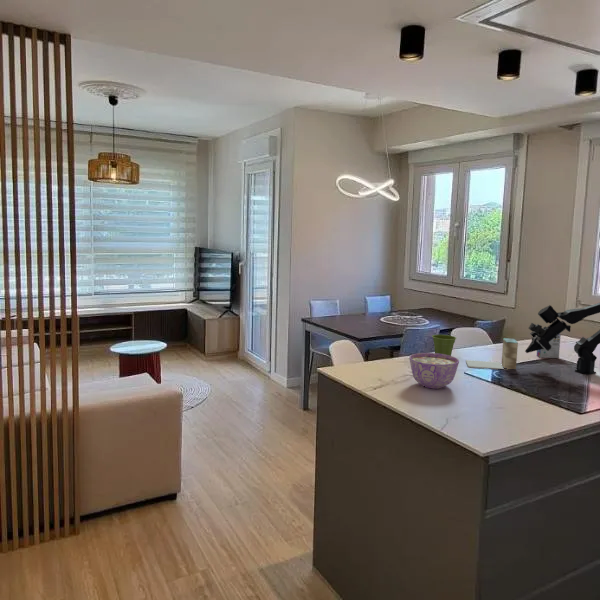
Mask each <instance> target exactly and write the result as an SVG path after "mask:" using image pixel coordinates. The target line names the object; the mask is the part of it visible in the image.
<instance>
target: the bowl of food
mask: <svg viewBox="0 0 600 600" xmlns="http://www.w3.org/2000/svg"><path fill="white" fill-rule="evenodd" d="M409 363H410V368H411V374H412V378H413V379H414V380H415V381H416V383H418V384H420V385H422V386H423V387H424V386H425V388H427V389H432V390H433V389H434V390H435V389H438V390H439V389H441V388H443V387H446V386H448V385H451V383H452V382H453V380H454V379H455V376H456V373H457V370H458V367H459V364H460V360H459V358H457V357H455V356H453V355H451V356H449V355H445V354H438V353H435V352H418V353H413V354H410V355H409Z"/></svg>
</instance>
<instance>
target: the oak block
mask: <svg viewBox="0 0 600 600" xmlns="http://www.w3.org/2000/svg"><path fill="white" fill-rule="evenodd" d="M502 339H503V340H502V353H501V364H502V366H503V367H504V368H507V369H506V370H508V369H516V370H517V361H518V360H517V359H518V348H519V345H518V344H519V343H518V341H517V340H516V339H515V338H509V337H508V338H502Z"/></svg>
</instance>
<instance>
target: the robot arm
mask: <svg viewBox="0 0 600 600" xmlns="http://www.w3.org/2000/svg"><path fill="white" fill-rule="evenodd" d="M597 314H600V302H598V303H594V304H591V305H588V306H585V307H582V308H581V307H580V308H572V309H571V308H570V309H566V310H564V311H563V312H561V311H560V312H557V311H556V310H555V309H554V308H553V306H552V305H550V304H548V305H547V306H545V307H543V308H540V310H539V311H538V312H537V315H538V316H539V318H541V320H543V321H544V322H545V324H549V325H548V326H544V327H543V326H542V325H541V324H539V323H538V324H536V323H534V322H531V323H530V325H529V326H528V329H529V330H530V331H531V332H530V335H531V342H530V344H529V345H528V347H527V348H525V350H524V352H525V353H526V354H529V353H532V352H537V350H541V349H544V348H545V349H546V350H547V351H549V350H550V349H551V345H550V344H549V342H550V341H551V340H552V339H554V338H555V339H556V338H557V337H556V336H557V335H561V333H563V332H564V331H565V330H566V331H567V332H569V333H570V332H571V328H572V326H571V325H573V324H574V325H575V324H577V323H579V322H581V321H582V320H584V319H585V318H587V317H590V316H593V315H597ZM567 323H568V324H567ZM569 324H570V325H569ZM599 345H600V329H599V330H597V331H596V332H595V333H593V334H592V335H591V336H590V337H588V338H586V337H584V336H582V337H580V339H579V340H578V341H575V344H574V346H573V351H574V353H576V354H577V356H578V358H577V361H576V369H575V370H574V372H577V373H580V374H585V375H592V374H596V373H597V371H595V366H596V365H595V364H596V360H597V356H596V355H595V354H594V351H595V350H596V348H597V347H598V346H599ZM543 347H544V348H543Z"/></svg>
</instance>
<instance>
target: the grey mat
mask: <svg viewBox="0 0 600 600" xmlns="http://www.w3.org/2000/svg"><path fill="white" fill-rule="evenodd" d="M465 363H466V366H467V368H470V367H471V368H472V369H484V368H491V369H490V370H498V369H504V368H503V366H502V365H501V364H502V362H501V361H500V362H499V361H486V360H485V361H484V360H471V359H470V360H469V359H466V360H465ZM504 370H505V369H504Z"/></svg>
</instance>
